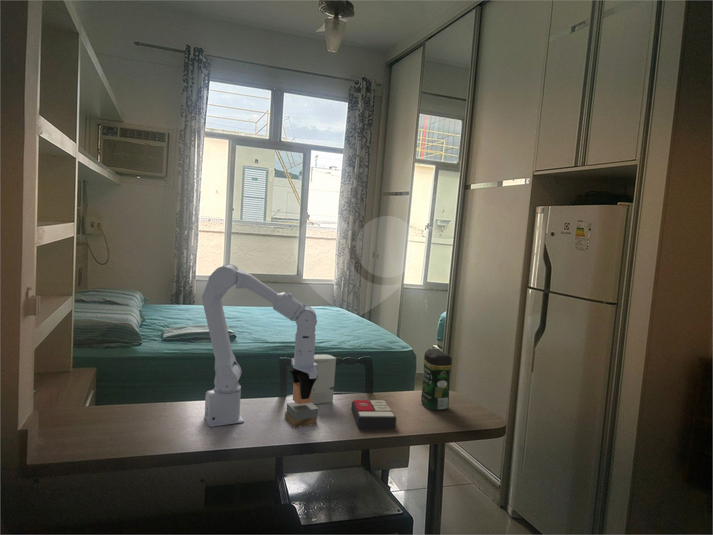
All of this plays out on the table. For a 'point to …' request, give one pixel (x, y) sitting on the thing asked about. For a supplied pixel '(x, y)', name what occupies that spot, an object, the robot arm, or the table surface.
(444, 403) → the coffee jar
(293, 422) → the tower base slab
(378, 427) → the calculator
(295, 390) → the terracotta block
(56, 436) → the table surface
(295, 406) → the tower top slab
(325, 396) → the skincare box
